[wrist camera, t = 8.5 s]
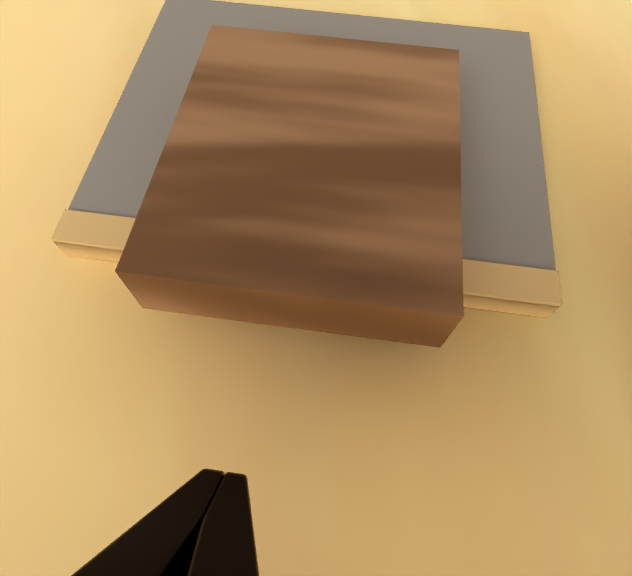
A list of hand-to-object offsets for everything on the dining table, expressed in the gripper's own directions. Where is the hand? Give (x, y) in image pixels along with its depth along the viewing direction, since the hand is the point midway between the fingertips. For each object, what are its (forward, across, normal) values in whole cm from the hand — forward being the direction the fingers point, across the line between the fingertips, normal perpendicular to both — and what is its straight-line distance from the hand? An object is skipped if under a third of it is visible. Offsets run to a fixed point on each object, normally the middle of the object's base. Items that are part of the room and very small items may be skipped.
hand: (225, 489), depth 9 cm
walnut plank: (+9, 0, 0) cm, 9 cm away
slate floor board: (+19, 0, -6) cm, 20 cm away
